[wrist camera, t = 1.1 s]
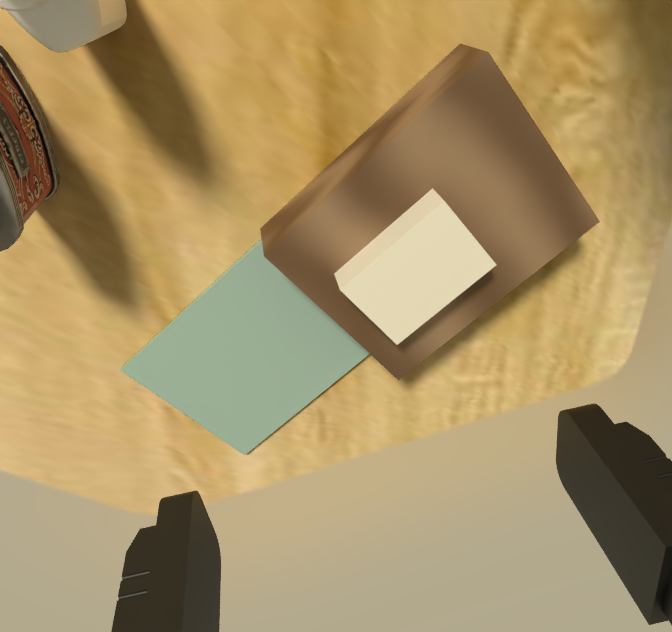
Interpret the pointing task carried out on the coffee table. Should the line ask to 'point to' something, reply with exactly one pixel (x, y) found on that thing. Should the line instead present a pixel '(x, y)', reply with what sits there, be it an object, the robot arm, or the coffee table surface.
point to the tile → (414, 268)
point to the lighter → (22, 153)
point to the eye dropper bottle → (67, 20)
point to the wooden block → (450, 184)
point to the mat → (246, 354)
